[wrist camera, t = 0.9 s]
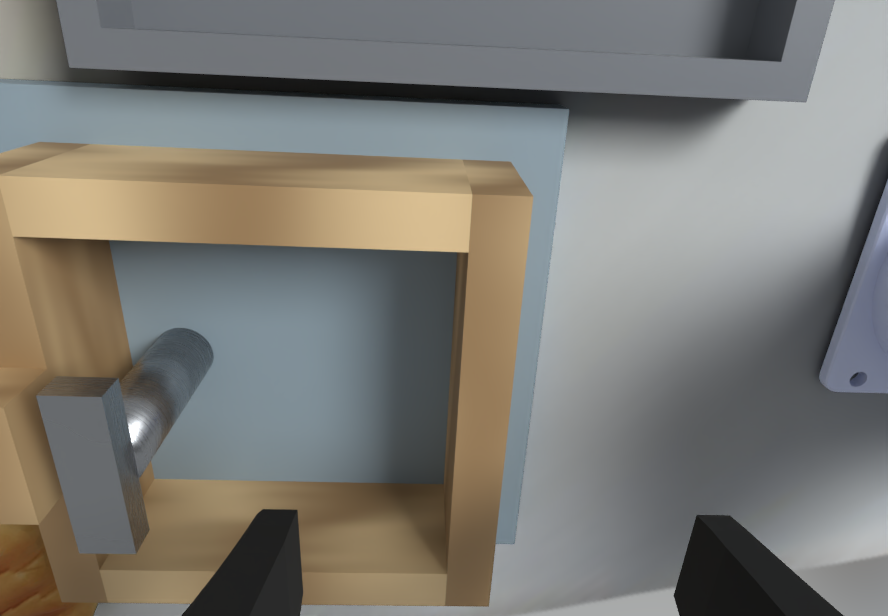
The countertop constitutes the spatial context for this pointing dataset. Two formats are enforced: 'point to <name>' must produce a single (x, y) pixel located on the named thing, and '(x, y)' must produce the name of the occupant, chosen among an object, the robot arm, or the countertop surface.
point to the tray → (468, 42)
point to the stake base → (311, 284)
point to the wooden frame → (274, 224)
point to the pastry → (30, 577)
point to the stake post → (118, 437)
